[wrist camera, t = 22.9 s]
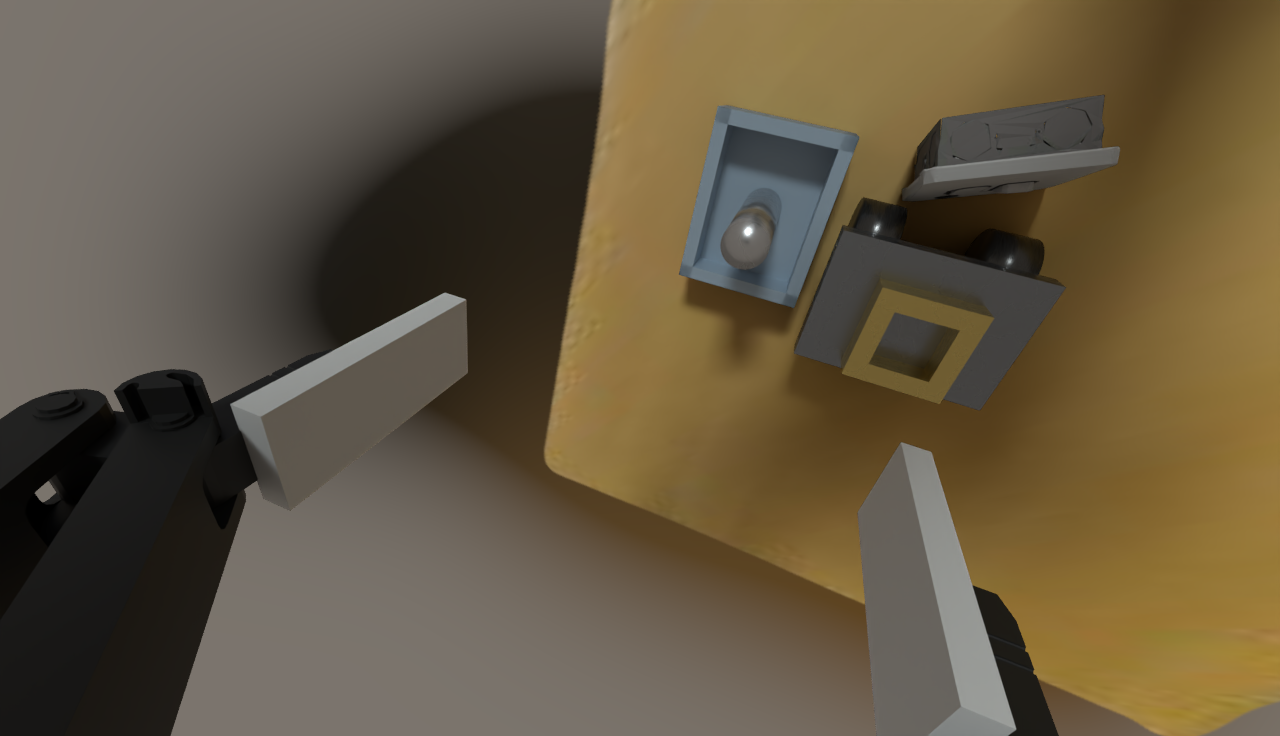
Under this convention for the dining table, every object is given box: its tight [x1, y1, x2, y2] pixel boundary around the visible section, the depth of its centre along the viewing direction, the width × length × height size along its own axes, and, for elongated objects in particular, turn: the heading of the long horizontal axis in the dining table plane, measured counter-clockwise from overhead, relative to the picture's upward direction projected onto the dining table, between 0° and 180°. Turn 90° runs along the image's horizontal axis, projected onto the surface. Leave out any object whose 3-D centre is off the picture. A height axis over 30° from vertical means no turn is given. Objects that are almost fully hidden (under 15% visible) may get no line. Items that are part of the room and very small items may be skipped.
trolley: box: [794, 197, 1066, 410], centre depth 37 cm, size 13×14×9 cm
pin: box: [720, 188, 782, 270], centre depth 35 cm, size 3×3×12 cm
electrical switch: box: [902, 95, 1120, 201], centre depth 31 cm, size 9×5×9 cm, turn 99°
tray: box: [679, 105, 859, 308], centre depth 39 cm, size 13×10×4 cm
